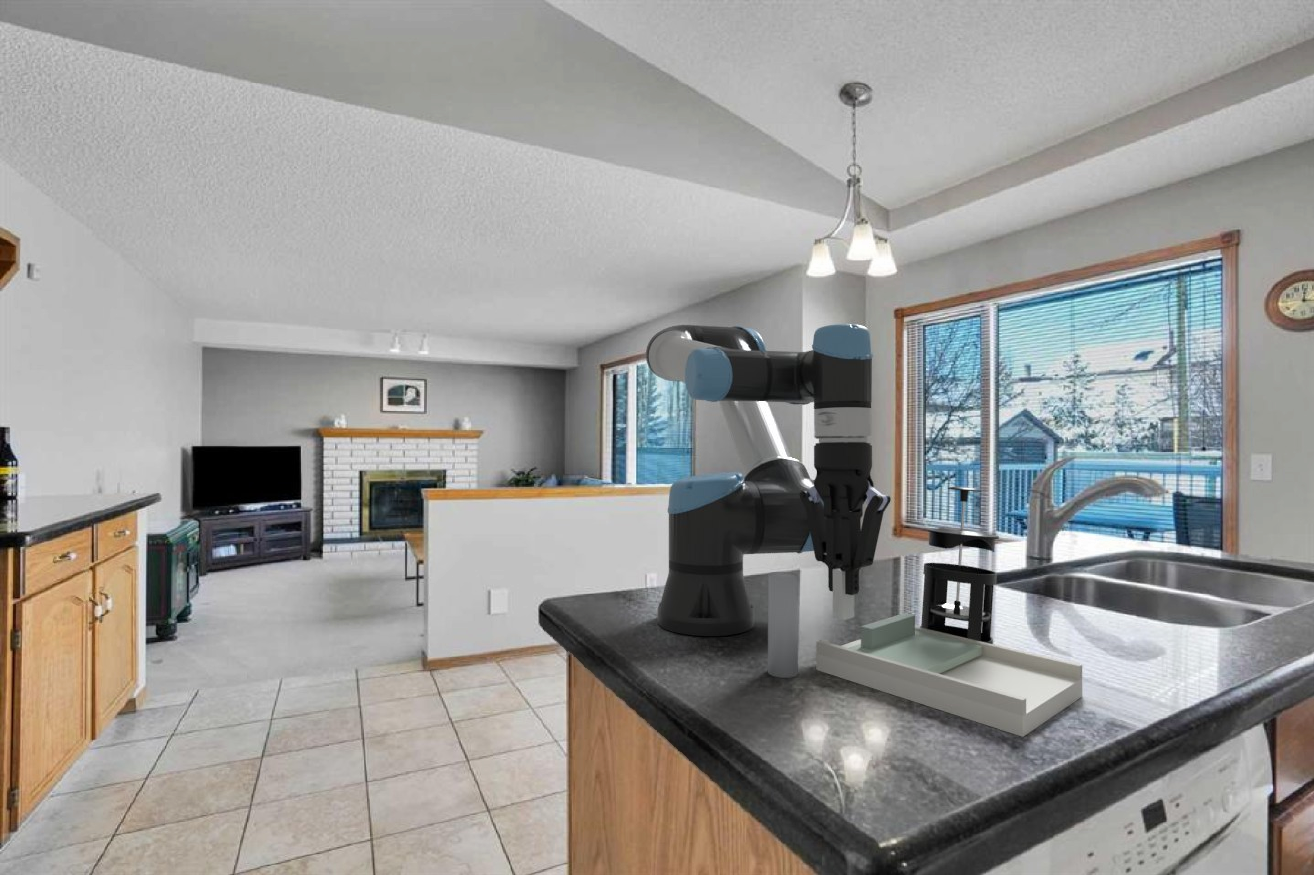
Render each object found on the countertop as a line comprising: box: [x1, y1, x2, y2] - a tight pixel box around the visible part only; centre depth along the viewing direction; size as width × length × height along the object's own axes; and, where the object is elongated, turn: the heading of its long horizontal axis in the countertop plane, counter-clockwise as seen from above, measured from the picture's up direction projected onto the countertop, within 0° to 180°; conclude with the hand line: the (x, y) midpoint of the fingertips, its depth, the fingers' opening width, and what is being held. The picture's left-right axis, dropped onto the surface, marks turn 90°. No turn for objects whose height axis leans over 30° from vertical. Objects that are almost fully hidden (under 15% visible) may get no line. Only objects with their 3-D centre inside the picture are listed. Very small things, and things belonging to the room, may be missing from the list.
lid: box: [849, 612, 982, 674], centre depth 79 cm, size 10×14×4 cm
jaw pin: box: [767, 571, 799, 679], centre depth 80 cm, size 4×4×12 cm
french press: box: [919, 486, 1000, 644], centre depth 88 cm, size 12×9×23 cm
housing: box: [815, 625, 1083, 738], centre depth 77 cm, size 24×16×4 cm, turn 40°
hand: (843, 617), depth 87 cm, fingers closed
